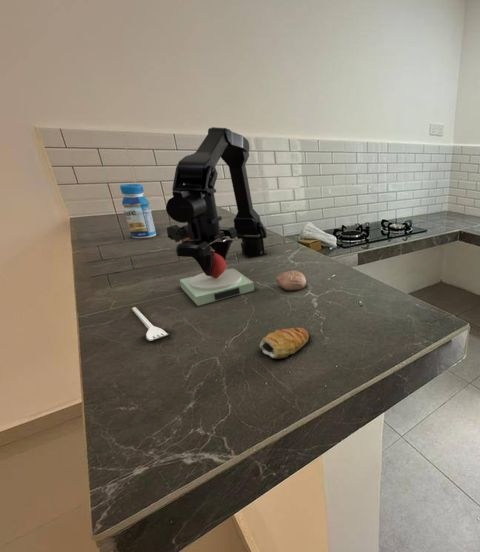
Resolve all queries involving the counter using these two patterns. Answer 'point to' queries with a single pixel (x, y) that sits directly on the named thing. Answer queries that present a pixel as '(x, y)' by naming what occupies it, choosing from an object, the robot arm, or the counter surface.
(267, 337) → the pastry
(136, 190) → the beverage bottle
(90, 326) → the counter surface
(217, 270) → the onion
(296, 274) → the pink oval lump
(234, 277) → the scale
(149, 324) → the fork
